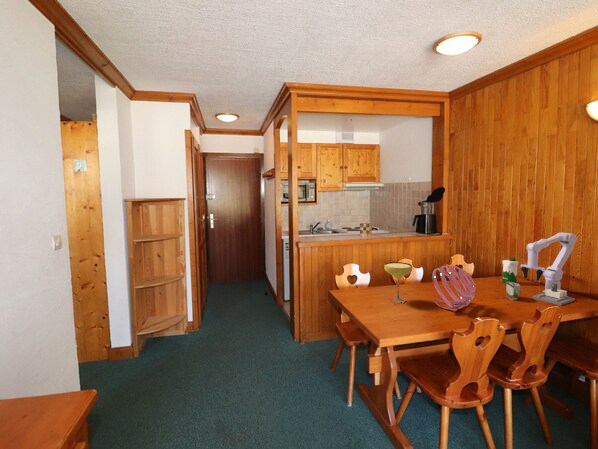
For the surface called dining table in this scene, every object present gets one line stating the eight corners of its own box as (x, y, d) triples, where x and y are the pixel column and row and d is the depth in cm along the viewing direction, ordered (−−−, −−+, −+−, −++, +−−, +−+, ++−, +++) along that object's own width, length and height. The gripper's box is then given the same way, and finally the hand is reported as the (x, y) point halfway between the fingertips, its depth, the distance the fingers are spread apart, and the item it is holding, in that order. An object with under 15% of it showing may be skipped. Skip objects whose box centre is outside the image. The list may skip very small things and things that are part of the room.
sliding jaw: (548, 294, 212) (549, 282, 211) (562, 297, 205) (563, 284, 204) (545, 295, 210) (545, 282, 209) (559, 298, 203) (560, 285, 202)
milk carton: (518, 284, 243) (520, 259, 241) (509, 285, 241) (510, 259, 239) (508, 281, 251) (509, 257, 249) (499, 282, 249) (500, 257, 247)
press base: (546, 294, 218) (546, 286, 218) (574, 300, 204) (575, 292, 204) (532, 298, 210) (532, 290, 210) (560, 305, 196) (561, 297, 196)
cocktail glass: (417, 301, 209) (418, 265, 207) (399, 307, 200) (399, 269, 198) (396, 294, 225) (396, 260, 222) (378, 299, 215) (378, 264, 213)
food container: (524, 301, 204) (524, 286, 204) (513, 301, 206) (514, 286, 205) (515, 295, 217) (515, 281, 216) (505, 295, 218) (505, 281, 217)
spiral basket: (411, 274, 205) (448, 255, 188) (433, 277, 222) (468, 260, 205) (429, 316, 191) (471, 300, 174) (451, 315, 208) (491, 301, 191)
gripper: (518, 259, 223) (517, 277, 224) (541, 262, 210) (540, 282, 211) (523, 258, 226) (523, 276, 227) (547, 261, 213) (546, 280, 215)
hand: (531, 279), depth 220 cm, fingers open, 7 cm apart
